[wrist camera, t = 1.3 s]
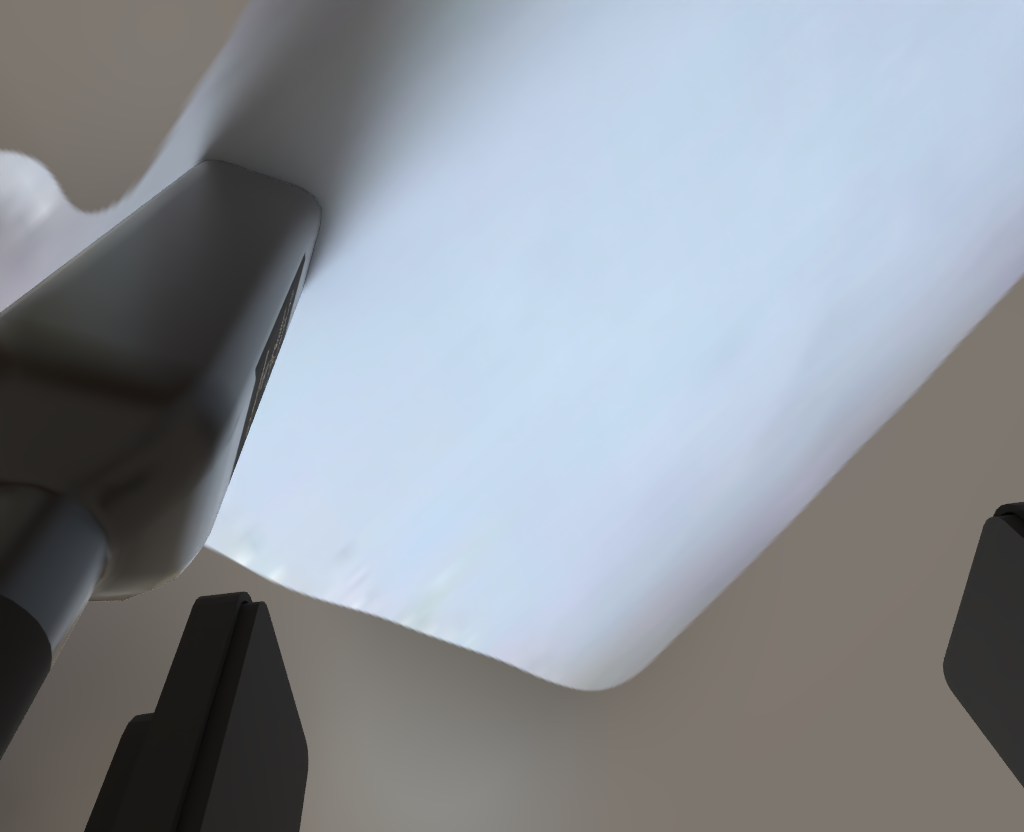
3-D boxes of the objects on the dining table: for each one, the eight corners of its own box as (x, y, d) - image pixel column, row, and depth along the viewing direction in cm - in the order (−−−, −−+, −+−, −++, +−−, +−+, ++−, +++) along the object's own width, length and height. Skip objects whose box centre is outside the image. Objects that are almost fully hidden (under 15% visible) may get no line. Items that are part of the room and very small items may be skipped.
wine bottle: (328, 195, 35) (66, 801, 8) (297, 309, 37) (14, 1070, 11) (196, 149, 33) (-628, 713, 7) (172, 272, 36) (-516, 1048, 9)
